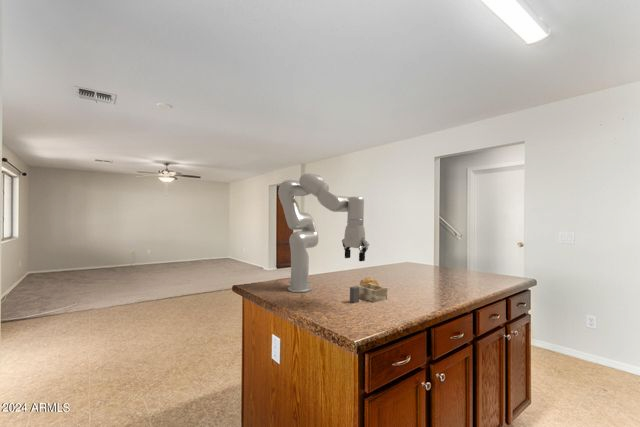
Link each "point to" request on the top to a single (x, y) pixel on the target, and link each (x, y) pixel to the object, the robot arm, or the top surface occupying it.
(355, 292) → the lid
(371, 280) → the croissant
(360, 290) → the box
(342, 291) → the top surface
